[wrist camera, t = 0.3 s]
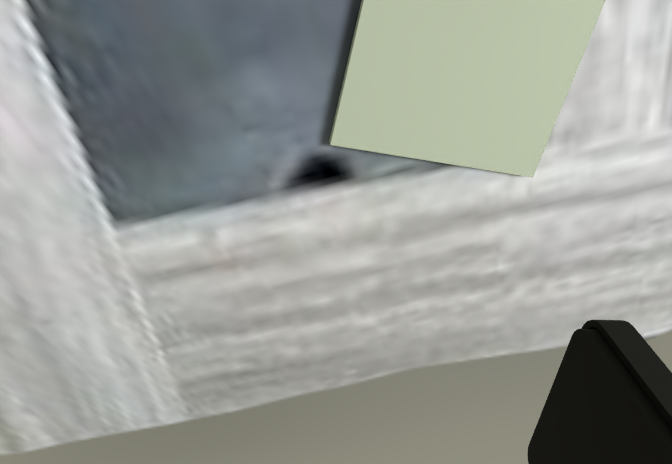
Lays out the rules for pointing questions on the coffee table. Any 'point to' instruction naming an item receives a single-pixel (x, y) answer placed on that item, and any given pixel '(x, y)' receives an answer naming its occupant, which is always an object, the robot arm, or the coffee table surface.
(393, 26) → the rubber mat
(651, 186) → the coffee table surface
